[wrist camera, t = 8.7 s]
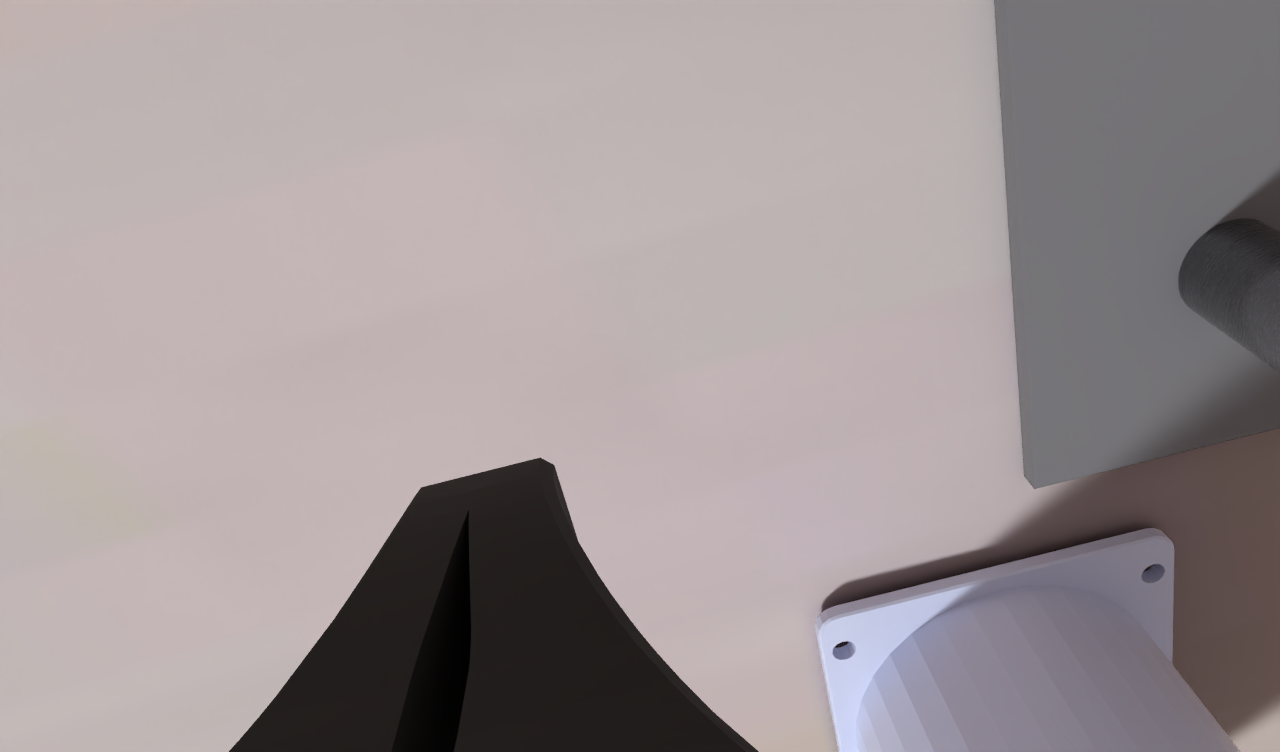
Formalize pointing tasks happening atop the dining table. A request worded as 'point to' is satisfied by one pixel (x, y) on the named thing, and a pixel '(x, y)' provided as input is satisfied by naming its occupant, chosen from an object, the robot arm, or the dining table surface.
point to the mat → (1132, 220)
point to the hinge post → (1237, 284)
